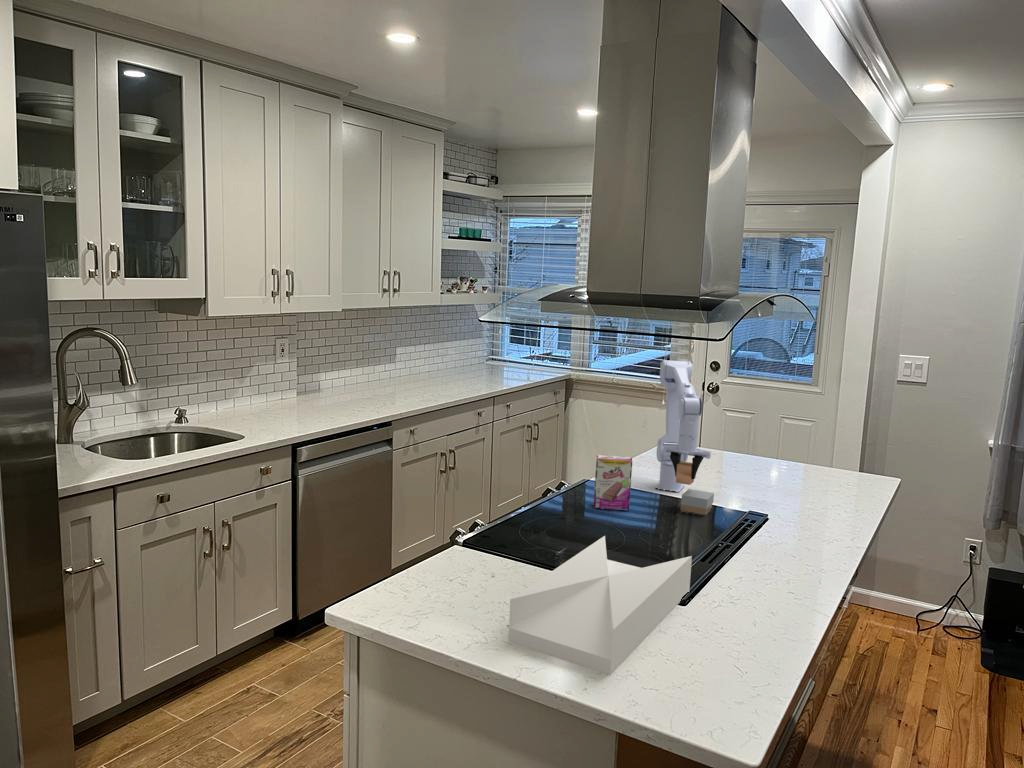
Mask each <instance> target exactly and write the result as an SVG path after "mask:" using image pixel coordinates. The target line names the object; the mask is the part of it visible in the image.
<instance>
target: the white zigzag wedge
mask: <svg viewBox="0 0 1024 768" xmlns="http://www.w3.org/2000/svg"><path fill="white" fill-rule="evenodd" d="M606 544H607V543H606V535H604V536H602V537H600V538H599V539H598V540H596V541H595V542H593V543H591V544H590V545H588V546H587V547H586V548H584V549H582V550H581V551H579V552H578V553H577V554H575V555H574V556H572V557H571V558H569V559H567V560H566V561H565V562H563V563H562V564H560V565H559V566H558V567H555V568H554V569H553V570H551V571H550V572H548V573H547V574H545V575H544V576H542V577H541V578H540V579H538V580H537V581H535V582H534V583H532V584H531V585H529V586H528V587H526V588H524V589H523V590H522V591H520V592H519V593H517V594H516V595H514V596H513V597H511V598H510V599H509V619H508V620H509V623H508V643H510V642H511V643H510V644H513V645H516V646H519V647H523V648H526V649H528V650H529V649H530V650H532V651H535V652H539V653H541V654H544V655H547V656H551V657H553V658H556V659H558V660H559V659H560V660H562V661H566V662H569V663H571V664H574V665H578V666H579V667H584V668H586V669H590V670H593V671H596V672H599V673H602V674H605V675H608V676H611V675H612V674H613V673H614V672H615V671H616V670H617V669H618V668H619V667H620V666H621V665H622V664H623V663H624V662H625V660H627V659H628V658H629V657H630V655H632V654H633V652H634V651H635V650H636V649H637V648H638V647H639V646H640V645H641V644H642V643H643V642H644V641H645V639H647V637H649V636H650V635H651V633H653V631H654V630H655V629H656V628H657V627H658V626H659V625H660V624H661V623H662V622H663V621H664V620H665V619H666V618H667V617H668V615H669V614H670V613H671V612H672V611H673V610H674V609H675V608H676V607H677V606H678V605H679V604H680V603H681V602H682V601H681V599H682V597H683V596H684V595H685V594H686V593H687V592H689V593H690V588H691V587H690V586H691V574H692V573H691V572H692V562H693V559H692V558H693V555H690V556H687V557H681V558H676V559H673V560H669V561H666V562H665V561H664V562H661V563H660V562H659V563H657V564H652V565H648V566H644V567H640V566H636V565H631V564H628V563H624V562H618V561H616V560H612V559H608V555H607V553H608V552H607V545H606ZM682 600H683V599H682ZM680 601H681V602H680Z"/></svg>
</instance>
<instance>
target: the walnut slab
mask: <svg viewBox="0 0 1024 768" xmlns="http://www.w3.org/2000/svg"><path fill="white" fill-rule="evenodd" d="M711 508H713V503H712V504H711V505H710V506H709V507H708V508H707V509H704V508H699V507H693V506H688V505H682V504H681V503H680V509H679V511H680V510H682V511H688V512H695V513H700V514H705V515H706V514H707V513H708V512H709V511H710V509H711ZM710 512H711V511H710ZM710 512H709V513H710Z"/></svg>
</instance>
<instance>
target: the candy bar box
mask: <svg viewBox="0 0 1024 768" xmlns="http://www.w3.org/2000/svg"><path fill="white" fill-rule="evenodd" d="M595 461H596V462H595V473H594V475H595V476H594V489H593V491H594V492H593V509H594V508H604V509H603V510H605V509H628V510H629V511H630V502H631V501H630V498H631V488H632V487H631V484H632V472H633V471H632V470H633V458H632V457H631V456H620V455H607V454H606V455H605V454H596V460H595Z"/></svg>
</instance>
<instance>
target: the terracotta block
mask: <svg viewBox="0 0 1024 768" xmlns="http://www.w3.org/2000/svg"><path fill="white" fill-rule="evenodd" d="M691 477H692V462H688V461H686V462H683V461H680V462H679V463H678V464H677V474H676V483H681V484H683V485H688V486H690V485H692V484H693V483H694V480H695V479H691Z"/></svg>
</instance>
